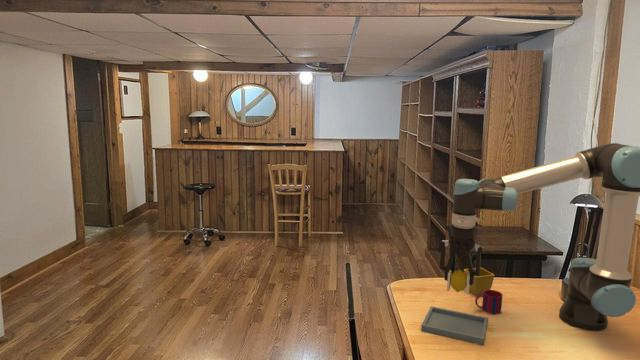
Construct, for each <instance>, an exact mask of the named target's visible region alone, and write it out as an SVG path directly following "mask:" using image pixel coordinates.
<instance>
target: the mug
mask: <svg viewBox="0 0 640 360" xmlns="http://www.w3.org/2000/svg"><path fill="white" fill-rule="evenodd" d="M503 296H504V295H503V293H502V292H500V291H498V290H494V289H490V290H485V291H484V292H483V295H476V297H475V299H474V303H475V305H476V306H477V308H479V309H482V312H485V313H487V314H490V315H499V314H501V313H502V305H503V303H502V302H503ZM480 297H481V298H482V304H481V306H480V305H478V299H479V298H480Z"/></svg>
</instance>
